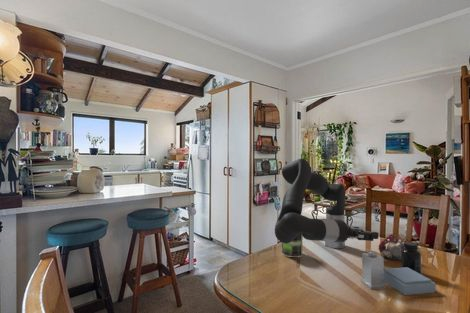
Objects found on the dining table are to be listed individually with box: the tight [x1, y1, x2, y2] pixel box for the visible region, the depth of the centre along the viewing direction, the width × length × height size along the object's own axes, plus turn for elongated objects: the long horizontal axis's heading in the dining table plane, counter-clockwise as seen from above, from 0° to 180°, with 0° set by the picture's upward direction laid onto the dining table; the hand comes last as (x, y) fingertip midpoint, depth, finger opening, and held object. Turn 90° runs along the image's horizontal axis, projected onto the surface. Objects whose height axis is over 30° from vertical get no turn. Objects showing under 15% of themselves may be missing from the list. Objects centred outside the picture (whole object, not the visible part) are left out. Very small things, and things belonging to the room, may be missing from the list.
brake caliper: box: [378, 233, 404, 262], centre depth 118 cm, size 11×11×12 cm
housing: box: [360, 250, 386, 290], centre depth 94 cm, size 6×6×12 cm
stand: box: [384, 267, 436, 296], centre depth 94 cm, size 12×12×4 cm
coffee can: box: [281, 233, 304, 258], centre depth 125 cm, size 10×10×14 cm
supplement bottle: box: [400, 241, 423, 275], centre depth 103 cm, size 7×7×12 cm
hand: (367, 232), depth 91 cm, fingers open, 8 cm apart
